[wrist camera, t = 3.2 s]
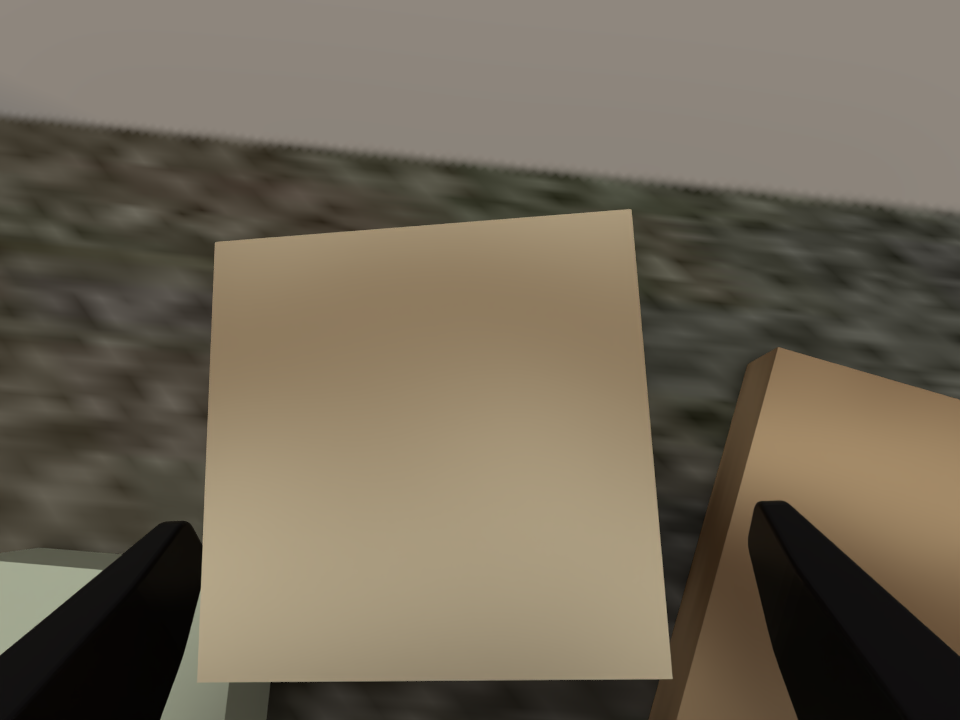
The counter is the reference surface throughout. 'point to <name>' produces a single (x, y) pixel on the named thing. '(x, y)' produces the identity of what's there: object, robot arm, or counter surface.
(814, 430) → the oak block
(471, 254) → the beech post
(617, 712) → the counter surface
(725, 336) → the counter surface
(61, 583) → the sage block
